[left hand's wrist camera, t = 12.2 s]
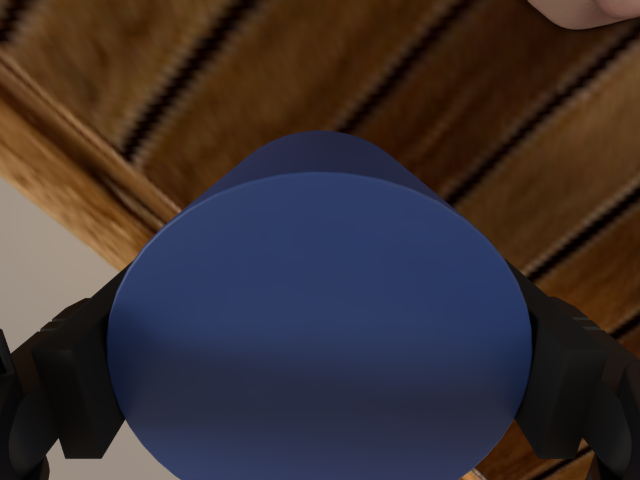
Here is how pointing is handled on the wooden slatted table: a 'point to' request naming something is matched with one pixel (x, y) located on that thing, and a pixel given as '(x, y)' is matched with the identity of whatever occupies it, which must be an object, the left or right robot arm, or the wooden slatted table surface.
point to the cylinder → (319, 325)
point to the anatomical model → (587, 11)
